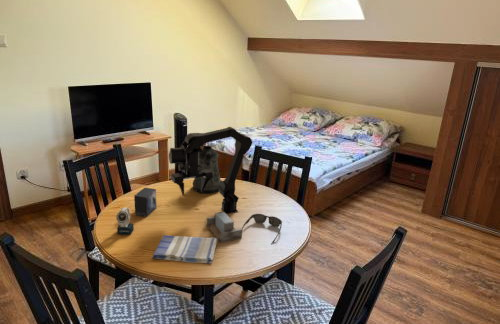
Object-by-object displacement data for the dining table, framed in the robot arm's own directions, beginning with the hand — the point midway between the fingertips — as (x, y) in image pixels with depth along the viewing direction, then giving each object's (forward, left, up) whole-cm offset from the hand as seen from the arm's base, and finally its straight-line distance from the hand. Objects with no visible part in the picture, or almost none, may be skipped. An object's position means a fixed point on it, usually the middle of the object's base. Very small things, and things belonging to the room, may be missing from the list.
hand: (192, 193), depth 162 cm
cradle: (-8, +19, -12) cm, 24 cm away
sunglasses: (-24, +26, -13) cm, 37 cm away
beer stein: (-19, -28, -12) cm, 36 cm away
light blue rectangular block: (-8, +19, -11) cm, 23 cm away
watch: (+31, +3, -12) cm, 33 cm away
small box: (+19, -13, -13) cm, 26 cm away
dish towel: (+11, +26, -13) cm, 31 cm away
